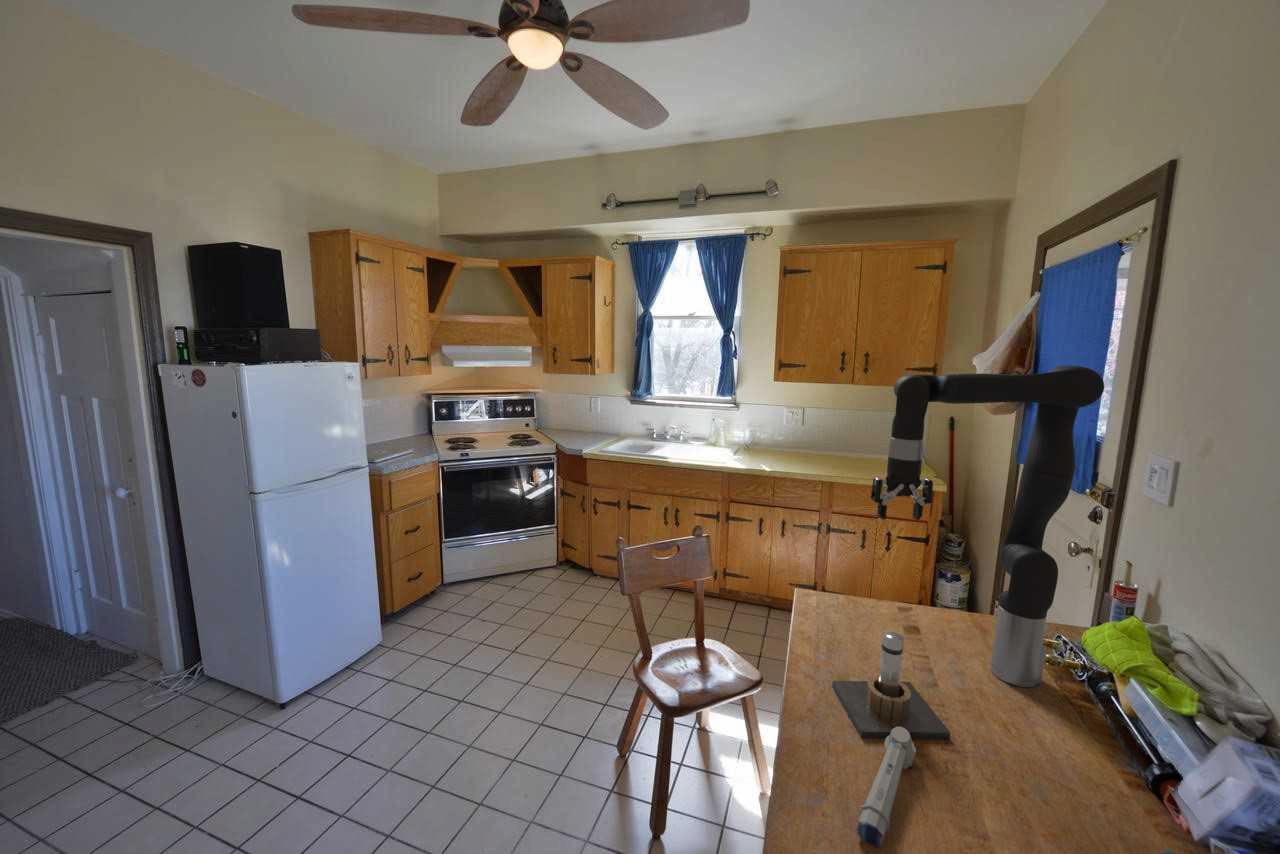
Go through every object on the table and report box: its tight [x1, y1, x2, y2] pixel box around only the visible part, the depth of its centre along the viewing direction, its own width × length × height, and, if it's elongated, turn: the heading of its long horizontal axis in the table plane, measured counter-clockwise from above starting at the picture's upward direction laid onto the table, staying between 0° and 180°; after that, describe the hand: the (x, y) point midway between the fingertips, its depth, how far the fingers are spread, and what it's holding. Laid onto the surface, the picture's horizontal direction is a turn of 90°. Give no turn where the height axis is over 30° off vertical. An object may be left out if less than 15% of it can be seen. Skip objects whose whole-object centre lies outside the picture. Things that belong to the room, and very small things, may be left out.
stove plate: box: [831, 675, 951, 740], centre depth 111 cm, size 18×16×6 cm
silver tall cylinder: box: [878, 631, 905, 698], centre depth 110 cm, size 4×4×16 cm
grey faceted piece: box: [856, 727, 917, 848], centre depth 91 cm, size 5×7×25 cm
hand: (899, 518), depth 129 cm, fingers open, 8 cm apart
